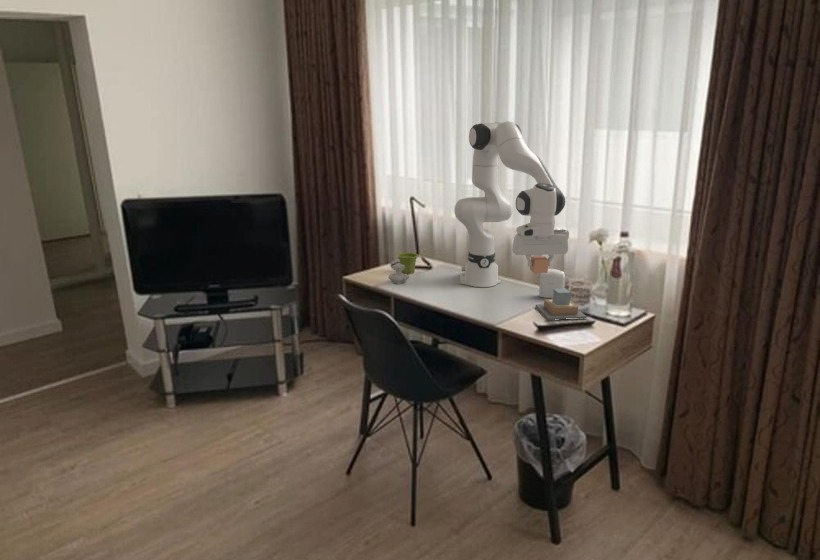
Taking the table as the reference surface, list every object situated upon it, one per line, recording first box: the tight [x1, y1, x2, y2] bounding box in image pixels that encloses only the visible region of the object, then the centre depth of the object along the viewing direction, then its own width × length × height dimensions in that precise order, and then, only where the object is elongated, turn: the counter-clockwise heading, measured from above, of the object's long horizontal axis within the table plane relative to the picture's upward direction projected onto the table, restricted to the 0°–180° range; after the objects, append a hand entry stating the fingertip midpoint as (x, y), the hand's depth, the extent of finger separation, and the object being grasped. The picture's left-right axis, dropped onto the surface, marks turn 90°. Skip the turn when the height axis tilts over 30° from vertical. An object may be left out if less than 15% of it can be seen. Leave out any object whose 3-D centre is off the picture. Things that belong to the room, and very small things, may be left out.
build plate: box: [535, 298, 587, 321], centre depth 233 cm, size 15×15×4 cm
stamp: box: [388, 263, 410, 285], centre depth 270 cm, size 9×7×8 cm
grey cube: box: [553, 287, 571, 305], centre depth 232 cm, size 5×5×5 cm
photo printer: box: [538, 268, 566, 299], centre depth 250 cm, size 10×4×12 cm, turn 66°
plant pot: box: [397, 252, 419, 275], centre depth 285 cm, size 9×9×9 cm
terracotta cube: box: [529, 255, 549, 274], centre depth 220 cm, size 5×5×5 cm
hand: (538, 265), depth 221 cm, fingers closed on terracotta cube, 5 cm apart
